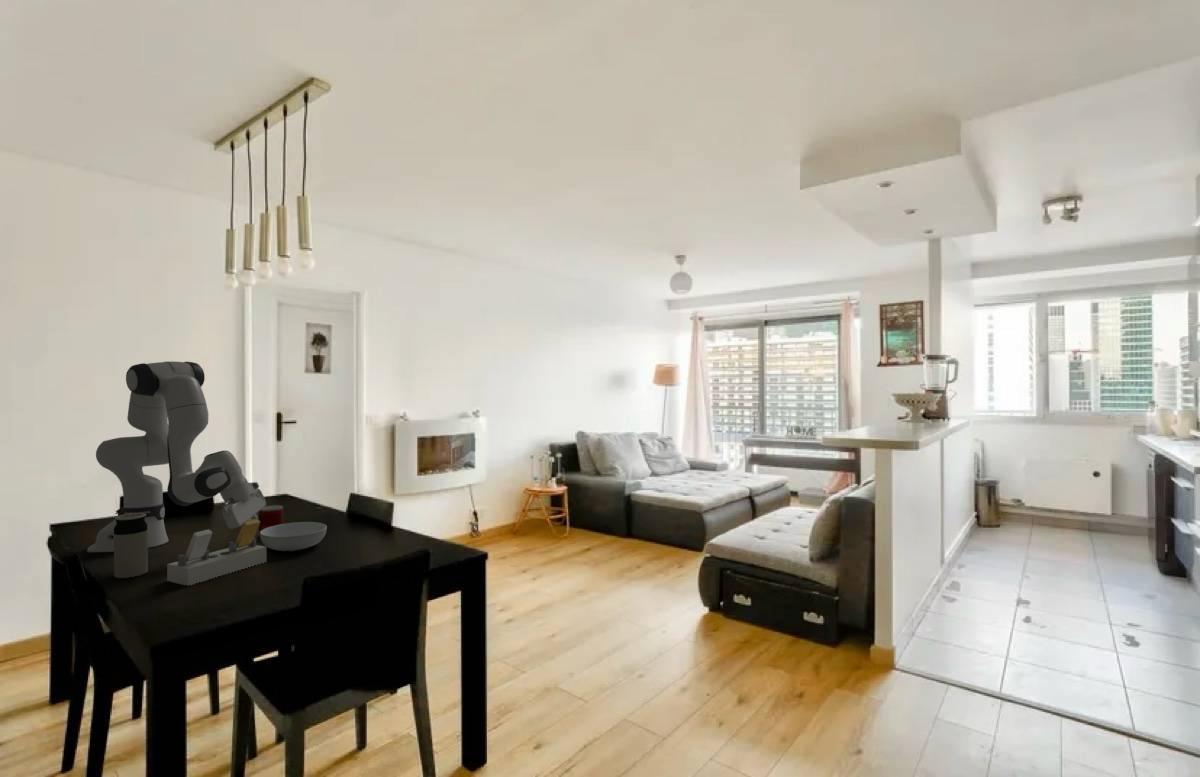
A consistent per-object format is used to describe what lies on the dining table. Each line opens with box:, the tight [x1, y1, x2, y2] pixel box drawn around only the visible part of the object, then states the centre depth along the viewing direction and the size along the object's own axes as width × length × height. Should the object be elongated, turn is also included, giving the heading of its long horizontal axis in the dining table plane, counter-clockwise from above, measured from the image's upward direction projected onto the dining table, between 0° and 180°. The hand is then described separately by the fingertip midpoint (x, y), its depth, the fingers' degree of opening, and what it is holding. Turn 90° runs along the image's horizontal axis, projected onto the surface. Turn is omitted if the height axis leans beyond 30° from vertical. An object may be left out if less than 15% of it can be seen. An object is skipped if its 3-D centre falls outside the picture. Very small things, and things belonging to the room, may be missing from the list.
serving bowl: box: [259, 521, 328, 552], centre depth 206 cm, size 21×21×7 cm
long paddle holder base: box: [166, 536, 267, 587], centre depth 180 cm, size 10×24×8 cm, turn 156°
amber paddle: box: [235, 518, 260, 548], centre depth 186 cm, size 2×5×10 cm
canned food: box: [258, 504, 284, 538], centre depth 221 cm, size 8×8×11 cm
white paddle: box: [185, 529, 213, 562], centre depth 173 cm, size 2×5×10 cm
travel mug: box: [113, 513, 149, 579], centre depth 177 cm, size 8×8×18 cm
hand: (255, 528), depth 205 cm, fingers closed
